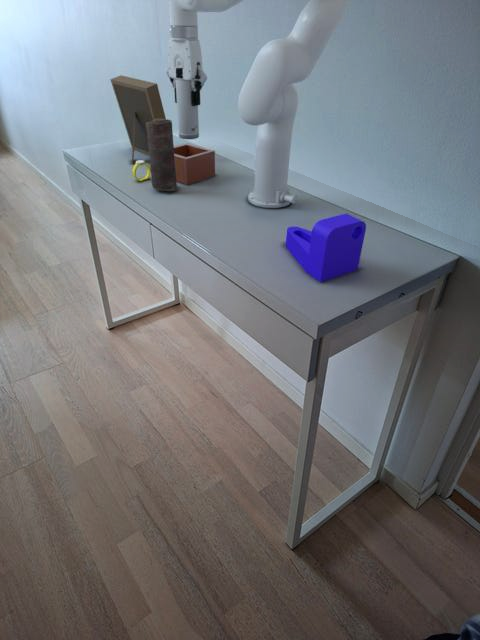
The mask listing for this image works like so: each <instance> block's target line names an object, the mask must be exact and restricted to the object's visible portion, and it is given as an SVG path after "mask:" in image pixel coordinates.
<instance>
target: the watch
mask: <svg viewBox="0 0 480 640" xmlns="http://www.w3.org/2000/svg"><path fill="white" fill-rule="evenodd" d="M143 165H145V167H146V170H147V171H146V172H147V173H146V175H145V176H144V177H142V178H138V177H137V175H136V172H137V169H138V167H139V166H143ZM131 172H132V173H131V174H132V177H133V179H134V180H136V181H137V182H143V181H146V180H148V179H149V178H150V177H151V168H150V164H149V163H147V162H145V160H143V159H139V160H136V161H135V164H134V165H133V166H132V169H131Z"/></svg>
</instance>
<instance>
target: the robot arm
mask: <svg viewBox="0 0 480 640" xmlns="http://www.w3.org/2000/svg"><path fill="white" fill-rule="evenodd" d="M243 1H244V0H168V12H169V13H168V14H169V25H170V26H169V27H170V28H169V33H170V38H169V40H168V49H167V66H168V67H167V71H166V75H167V77H168V79H169V81H170V83H171V84H172V86H171V87H172V88H173V89H174V90H173V91H174V92H173V93H174V103H175V104H177V95H176V68H183V75H182V76H183V79H184V80H187V81H190V83H191V87H192V90H193V91H191V105H192V106H197V105H198V106H200V105H201V91H202V89H203V86H204V85H205V83H206V82H207V80H208V76H207V74H206V73H205V72H204V70H203V69H204V67H203V56H202V47H201V43H200V39H199V29H198V28H199V27H198V25H199V24H198V13H222V12H225V11H228V10H229V9H231V8H233V7H235V6H237V5H239V4H240V3H242V2H243ZM350 3H351V0H309V1H308V3H307V4H306V5H305V6H304V7H303V9H302V10H301V12H300V14H299V16H298V18H297V20H296V22H295V23H294V26H293V28H292V30H291V31H290V33H289V34H288V35H287V36H286V37H284V38H274V39H272V40H270V41H268V42H266V43H265V44H264V45H263V46H262V47H261V48H260V50H259V51H258V53H257V55H256V56H255V59H254V61H253V62H252V65H251V67H250V69H249V71H248V73H247V76H246V77H245V80H244V83H243V85H242V87H241V90H240V92H239V96H238V100H237V109H238V114H239V116H240V118H241V119H242V121H243V122H244V123H246V124H247V125H250V126H258V127H257V132H256V136H255V137H256V138H255V152H254V153H255V154H254V177H253V191H251V192H250V193H249V194H248V196H247V200H248V202H249V203H250V204H251V205H253V206H256V207H259V208H264V209H279V208H284V207H287V206H288V205H290V204H292V205H294V204H295V203H296V201H297V198H298V195H297V194H296V193H293V192H291V186H288V180H289V169H290V168H289V167H290V157H291V148H292V147H291V146H292V136H293V130H294V124H295V120H296V116H297V115H296V114H297V111H298V108H299V107H298V105H299V95H298V91H297V89H296V86H294V85H295V84H298V83H301V82H303V81H305V80H307V79H308V78H309V76H310V75H311V74H312V72H313V70H314V68H315V67H316V65H317V63H318V61H319V59H320V57H321V56H322V54H323V52H324V50H325V48H326V46H327V45H328V43H329V41H330V40H331V37H332V36H333V34H334V32H335V30H336V29H337V27H338V25H339V23H340V22H341V20H342V19H343V17H344V15H345V13H346V12H347V10H348V7H349V5H350ZM195 76H196V78H195ZM193 78H194V79H193ZM194 81H196V85H195V82H194Z"/></svg>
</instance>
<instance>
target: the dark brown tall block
mask: <svg viewBox="0 0 480 640" xmlns="http://www.w3.org/2000/svg"><path fill="white" fill-rule="evenodd" d="M172 121H173V120H171V119H168V118H166V119H159V118H158V119H155V120H154V121H150V122H146V127H147V137H148V146H149V155H148V158H149V166H150V170H151V172H150V177H151V178H150V179H151V187H152V188H153V189H154V190H157V191H163V192H164V191H165V192H176V191H177V190H178V184H177V183H178V182H177V181H176V170H175V158H174V132H173V122H172Z"/></svg>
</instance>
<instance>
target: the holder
mask: <svg viewBox="0 0 480 640" xmlns="http://www.w3.org/2000/svg"><path fill="white" fill-rule="evenodd" d="M174 158H175V170H176V182H177V183H181V184H183V185H186V186H188V185H192V184H195V183H197V182H201V181H203V180H206V179H209V178H212V177H215V176H216V150H213V149H210V148H206V147H202V146H199V145H195V144H192V143H187V142H186V143H182V144H178V145H175V146H174Z"/></svg>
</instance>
